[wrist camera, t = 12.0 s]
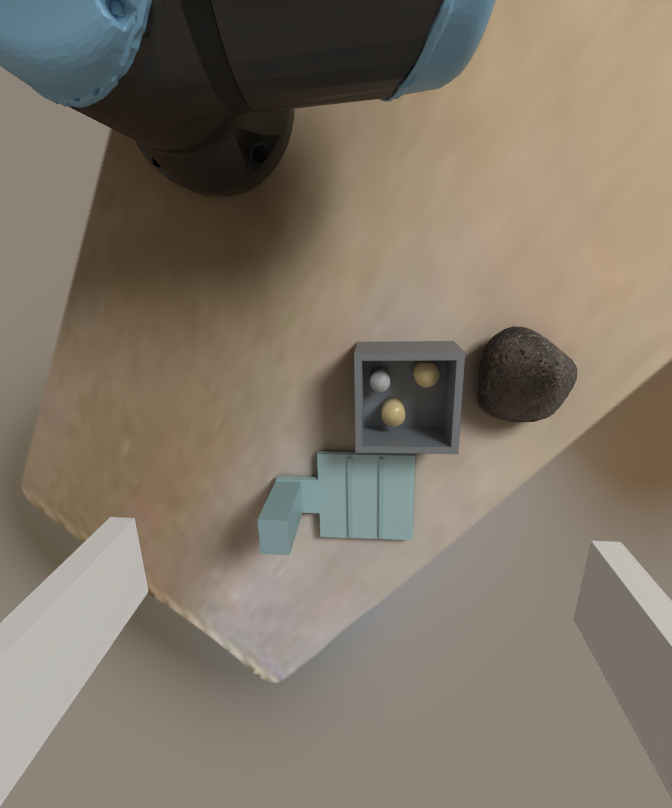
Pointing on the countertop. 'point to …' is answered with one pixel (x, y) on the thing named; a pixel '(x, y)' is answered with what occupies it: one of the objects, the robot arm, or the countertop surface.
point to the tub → (408, 397)
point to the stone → (524, 376)
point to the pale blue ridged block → (343, 500)
